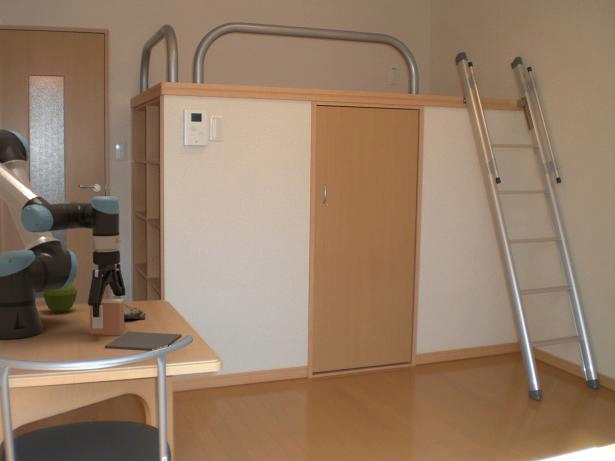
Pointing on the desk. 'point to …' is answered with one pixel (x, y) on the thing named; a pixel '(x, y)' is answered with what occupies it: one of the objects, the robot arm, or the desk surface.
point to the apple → (60, 298)
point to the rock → (133, 313)
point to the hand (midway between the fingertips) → (108, 322)
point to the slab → (110, 317)
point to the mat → (142, 341)
